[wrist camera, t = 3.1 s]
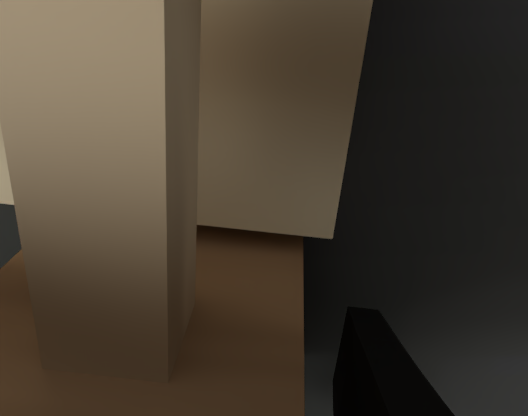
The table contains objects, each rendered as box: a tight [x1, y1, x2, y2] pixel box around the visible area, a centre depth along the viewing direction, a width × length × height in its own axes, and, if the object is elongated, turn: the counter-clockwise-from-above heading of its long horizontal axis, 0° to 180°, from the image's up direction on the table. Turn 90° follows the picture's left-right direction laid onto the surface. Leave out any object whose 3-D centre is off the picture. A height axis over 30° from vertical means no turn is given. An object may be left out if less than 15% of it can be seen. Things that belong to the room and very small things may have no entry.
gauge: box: [0, 0, 305, 416], centre depth 7 cm, size 12×5×7 cm, turn 175°
